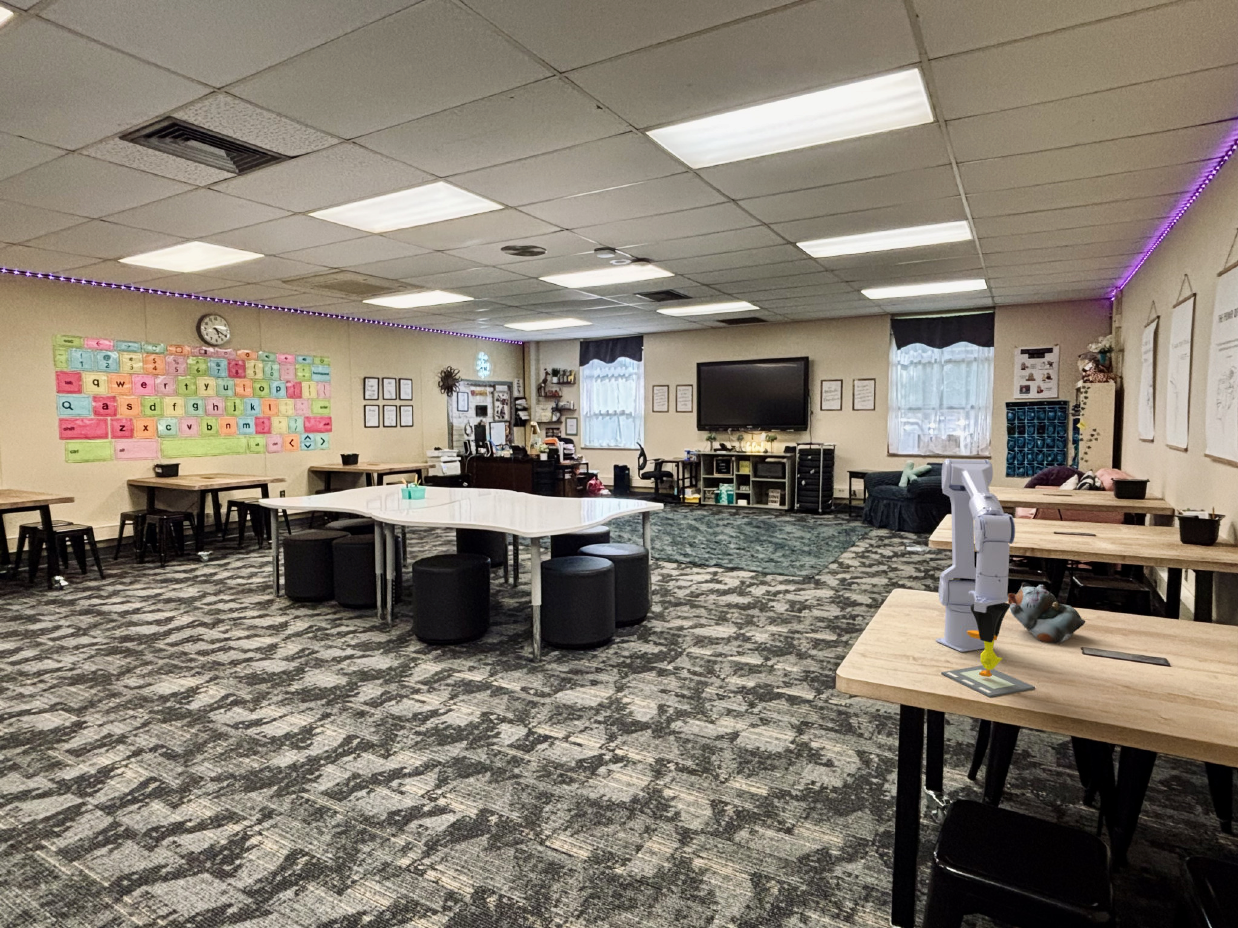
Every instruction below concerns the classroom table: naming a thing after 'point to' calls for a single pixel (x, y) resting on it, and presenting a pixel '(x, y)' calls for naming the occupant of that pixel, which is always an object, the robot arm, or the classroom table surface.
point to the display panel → (987, 681)
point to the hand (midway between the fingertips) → (988, 638)
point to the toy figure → (986, 654)
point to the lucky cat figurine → (1044, 614)
